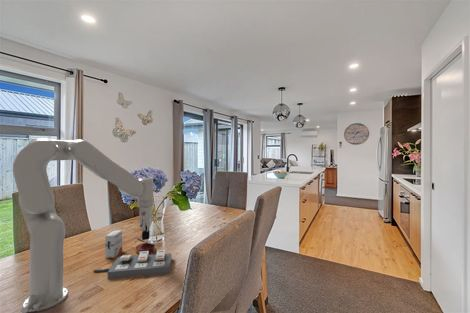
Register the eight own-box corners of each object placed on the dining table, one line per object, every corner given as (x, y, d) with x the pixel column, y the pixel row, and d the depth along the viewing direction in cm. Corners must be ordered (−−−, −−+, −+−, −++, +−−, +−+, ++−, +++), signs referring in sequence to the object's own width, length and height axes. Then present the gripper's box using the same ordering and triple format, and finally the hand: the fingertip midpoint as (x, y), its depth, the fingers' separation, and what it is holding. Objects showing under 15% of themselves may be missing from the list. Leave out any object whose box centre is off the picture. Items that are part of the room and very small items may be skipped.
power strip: (169, 273, 100) (169, 266, 100) (87, 280, 93) (87, 273, 93) (171, 258, 114) (171, 252, 114) (99, 264, 107) (100, 257, 107)
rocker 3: (164, 259, 106) (164, 257, 106) (155, 260, 105) (155, 258, 105) (165, 251, 112) (165, 249, 111) (157, 252, 111) (157, 250, 110)
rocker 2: (146, 261, 104) (146, 258, 104) (137, 261, 103) (137, 259, 103) (148, 253, 110) (148, 250, 110) (140, 253, 109) (140, 251, 109)
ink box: (113, 250, 122) (114, 229, 122) (122, 250, 122) (122, 230, 122) (104, 257, 114) (104, 235, 114) (113, 258, 114) (114, 235, 114)
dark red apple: (137, 258, 124) (136, 240, 128) (155, 254, 127) (154, 236, 131) (134, 257, 114) (133, 237, 118) (155, 252, 118) (153, 233, 122)
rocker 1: (128, 260, 102) (128, 257, 102) (119, 260, 101) (119, 257, 102) (131, 257, 108) (131, 254, 108) (122, 257, 107) (123, 254, 107)
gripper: (150, 206, 102) (151, 244, 102) (155, 199, 116) (155, 232, 117) (133, 207, 100) (134, 246, 101) (140, 199, 115) (140, 234, 115)
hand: (145, 238), depth 109 cm, fingers closed
